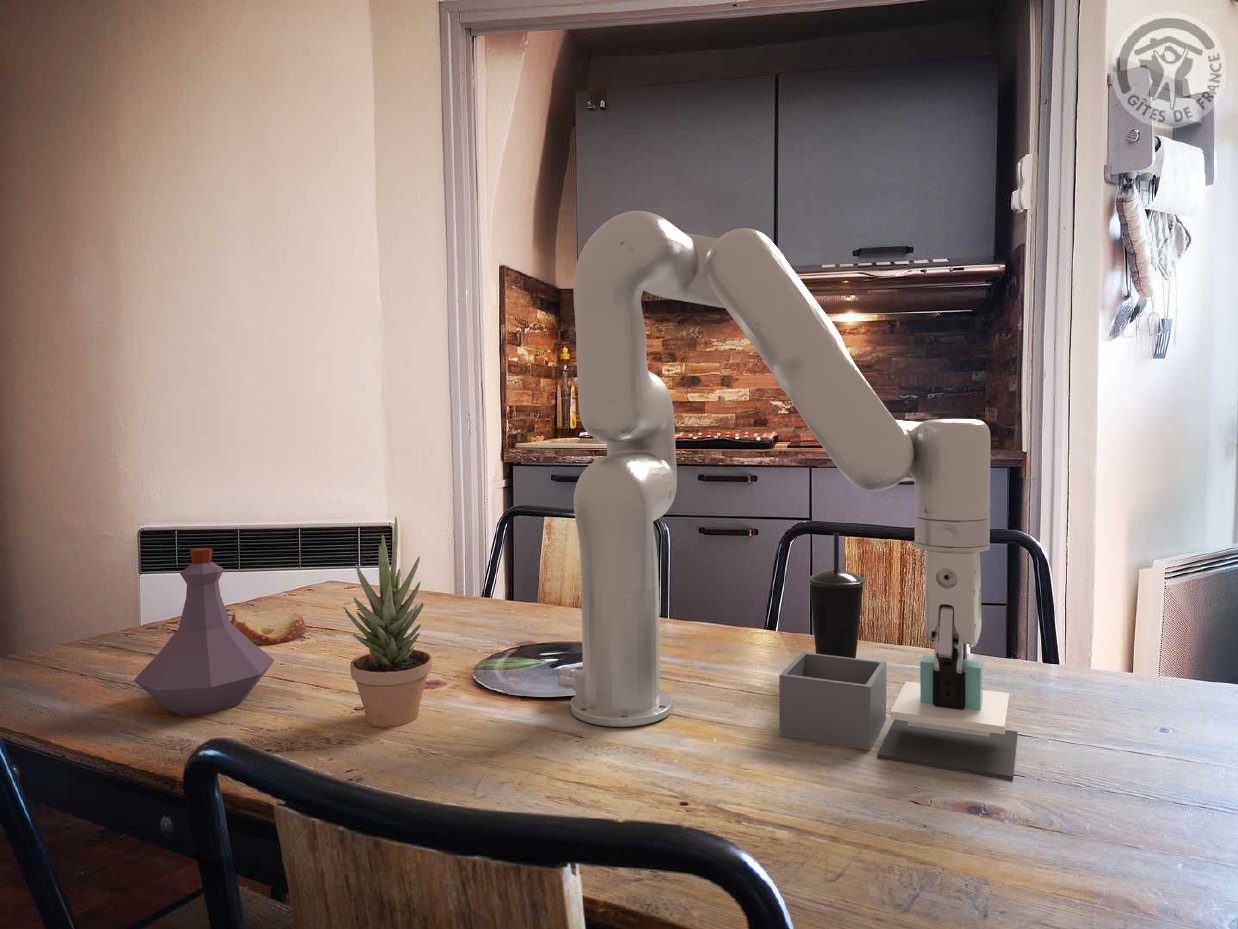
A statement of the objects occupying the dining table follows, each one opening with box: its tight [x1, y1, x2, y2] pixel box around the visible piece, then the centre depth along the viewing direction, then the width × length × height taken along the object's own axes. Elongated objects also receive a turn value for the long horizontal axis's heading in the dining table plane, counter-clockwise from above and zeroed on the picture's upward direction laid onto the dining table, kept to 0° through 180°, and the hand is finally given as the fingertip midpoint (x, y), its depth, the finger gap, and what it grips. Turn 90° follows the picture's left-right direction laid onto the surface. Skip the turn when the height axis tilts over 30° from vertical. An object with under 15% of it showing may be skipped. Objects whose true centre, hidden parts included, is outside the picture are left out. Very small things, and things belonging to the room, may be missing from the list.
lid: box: [889, 654, 1010, 737], centre depth 92 cm, size 11×11×6 cm
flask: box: [133, 547, 275, 716], centre depth 109 cm, size 16×16×20 cm
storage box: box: [778, 651, 887, 752], centre depth 98 cm, size 10×10×7 cm
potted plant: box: [342, 516, 433, 728], centre depth 102 cm, size 10×10×25 cm
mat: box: [876, 719, 1018, 781], centre depth 92 cm, size 13×13×1 cm
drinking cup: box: [807, 532, 866, 659], centre depth 116 cm, size 8×8×20 cm
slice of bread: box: [230, 609, 307, 647], centre depth 146 cm, size 18×18×4 cm
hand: (950, 700), depth 92 cm, fingers closed on lid, 3 cm apart
